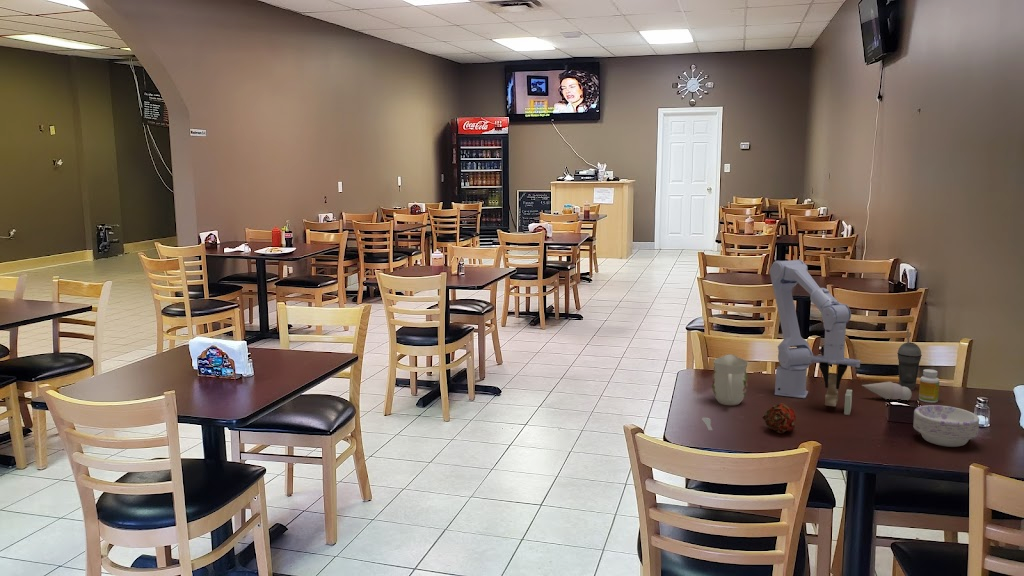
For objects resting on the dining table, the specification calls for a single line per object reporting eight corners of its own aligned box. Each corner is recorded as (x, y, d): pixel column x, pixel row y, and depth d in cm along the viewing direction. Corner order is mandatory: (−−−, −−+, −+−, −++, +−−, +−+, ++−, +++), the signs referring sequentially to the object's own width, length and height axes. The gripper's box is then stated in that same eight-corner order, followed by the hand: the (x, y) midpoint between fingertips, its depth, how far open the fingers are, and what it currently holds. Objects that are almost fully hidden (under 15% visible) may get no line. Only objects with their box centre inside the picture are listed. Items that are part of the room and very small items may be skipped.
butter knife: (710, 417, 228) (700, 417, 228) (723, 445, 204) (712, 445, 204) (710, 418, 228) (700, 418, 228) (723, 447, 204) (711, 446, 204)
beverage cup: (909, 392, 252) (914, 332, 249) (890, 386, 258) (894, 328, 256) (924, 389, 255) (928, 330, 252) (904, 383, 262) (908, 326, 259)
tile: (844, 414, 230) (845, 395, 229) (845, 408, 236) (846, 389, 235) (849, 415, 229) (850, 395, 228) (851, 408, 235) (852, 389, 234)
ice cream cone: (857, 397, 246) (907, 407, 243) (863, 390, 241) (914, 400, 238) (858, 380, 249) (908, 390, 246) (864, 372, 244) (915, 382, 241)
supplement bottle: (937, 403, 239) (940, 373, 238) (918, 401, 242) (920, 371, 240) (938, 399, 244) (940, 369, 242) (919, 397, 246) (921, 367, 245)
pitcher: (710, 410, 235) (711, 366, 233) (711, 394, 252) (713, 353, 250) (747, 413, 232) (749, 368, 230) (746, 396, 249) (748, 355, 247)
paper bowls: (950, 455, 196) (953, 425, 195) (899, 436, 210) (901, 408, 209) (990, 446, 202) (992, 417, 201) (938, 429, 216) (940, 401, 215)
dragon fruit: (780, 443, 210) (773, 435, 221) (806, 427, 208) (799, 419, 220) (761, 417, 211) (756, 411, 222) (788, 400, 209) (781, 395, 221)
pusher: (824, 405, 231) (826, 375, 230) (827, 399, 239) (828, 370, 238) (835, 406, 230) (837, 377, 229) (837, 400, 237) (839, 371, 236)
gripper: (807, 344, 231) (805, 388, 233) (860, 349, 225) (857, 393, 227) (810, 339, 238) (808, 382, 240) (861, 344, 231) (858, 388, 233)
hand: (832, 387), depth 234 cm, fingers closed on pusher, 2 cm apart
